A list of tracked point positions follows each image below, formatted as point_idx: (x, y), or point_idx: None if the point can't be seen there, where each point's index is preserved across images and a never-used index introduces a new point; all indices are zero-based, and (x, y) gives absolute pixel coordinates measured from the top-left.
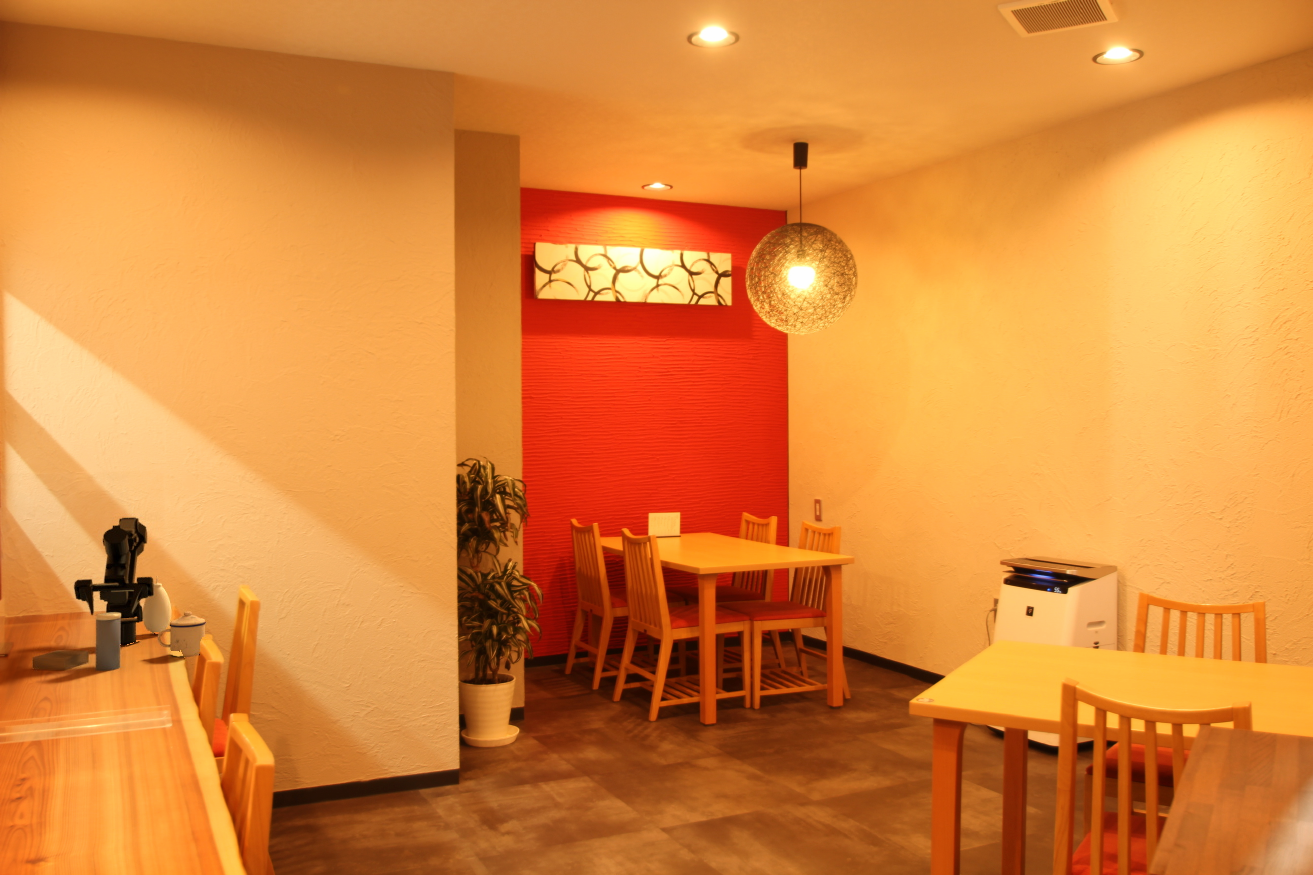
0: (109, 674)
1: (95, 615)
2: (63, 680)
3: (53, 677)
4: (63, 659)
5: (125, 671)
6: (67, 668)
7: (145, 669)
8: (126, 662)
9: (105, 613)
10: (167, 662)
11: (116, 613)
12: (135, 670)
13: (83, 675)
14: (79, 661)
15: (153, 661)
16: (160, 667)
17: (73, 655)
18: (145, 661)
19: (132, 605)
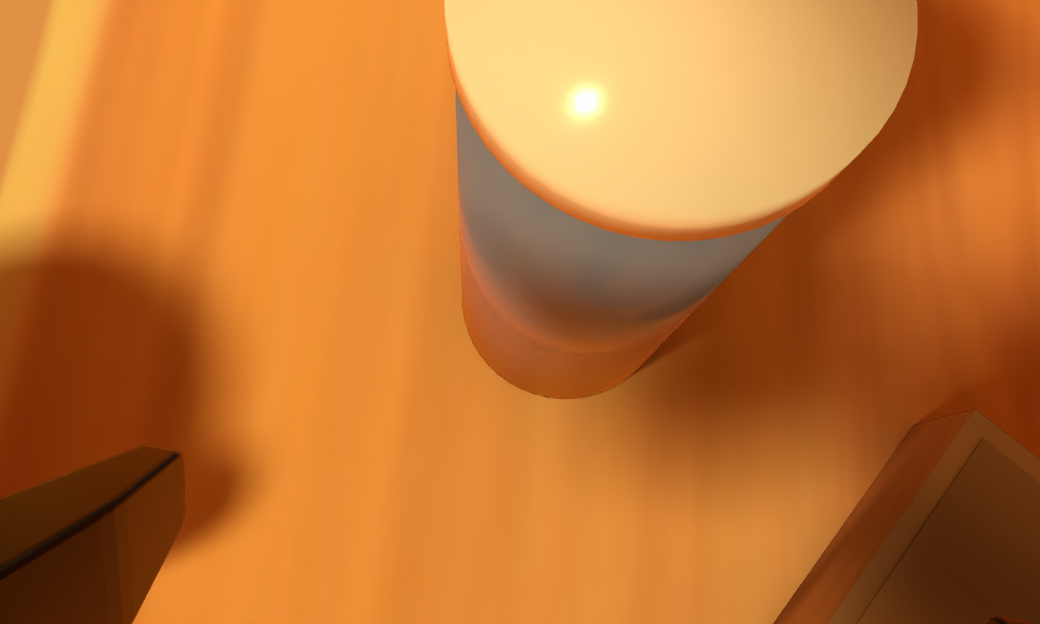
0: None
1: (914, 10)
2: None
3: (970, 169)
4: (979, 419)
5: (442, 86)
6: (895, 454)
7: (285, 75)
8: (385, 481)
9: (734, 126)
10: (52, 264)
11: (527, 10)
12: (364, 80)
13: None
14: (814, 589)
15: (152, 385)
16: (160, 85)
17: (903, 532)
18: (218, 428)
19: (68, 493)
